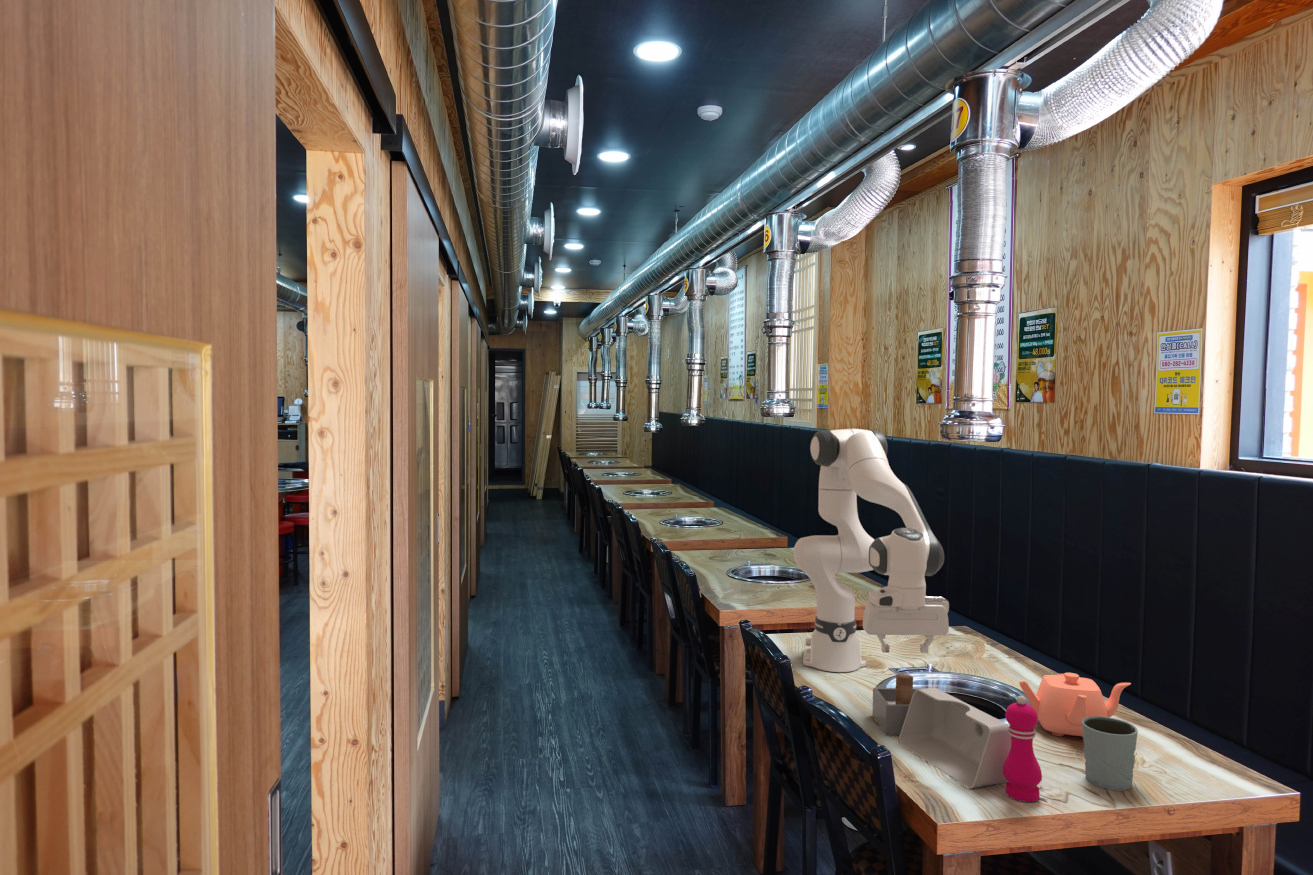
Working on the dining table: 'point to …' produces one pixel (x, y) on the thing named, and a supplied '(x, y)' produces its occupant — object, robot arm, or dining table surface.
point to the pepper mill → (1022, 753)
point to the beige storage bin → (956, 738)
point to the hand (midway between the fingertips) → (904, 651)
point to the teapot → (1070, 702)
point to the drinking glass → (1109, 752)
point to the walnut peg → (904, 689)
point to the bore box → (889, 710)
